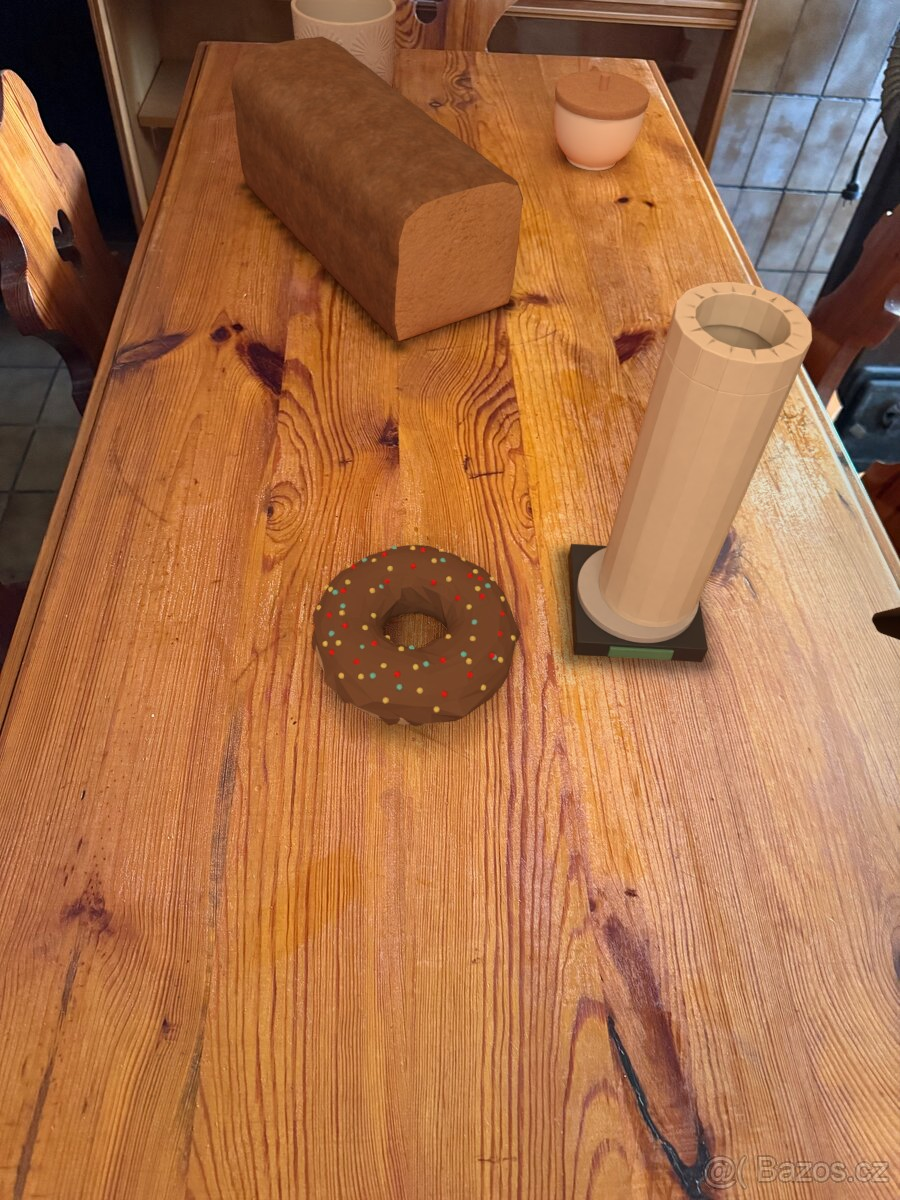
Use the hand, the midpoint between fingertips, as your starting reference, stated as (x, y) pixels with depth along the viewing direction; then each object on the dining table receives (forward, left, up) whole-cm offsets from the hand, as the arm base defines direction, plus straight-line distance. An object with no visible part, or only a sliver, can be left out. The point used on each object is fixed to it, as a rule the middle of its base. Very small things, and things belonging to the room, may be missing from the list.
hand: (898, 569), depth 50 cm
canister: (+11, +6, -11) cm, 17 cm away
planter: (+96, -4, -14) cm, 97 cm away
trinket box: (+72, -26, -14) cm, 77 cm away
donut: (+14, +23, -14) cm, 30 cm away
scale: (+11, +7, -14) cm, 19 cm away
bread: (+64, +6, -14) cm, 65 cm away
